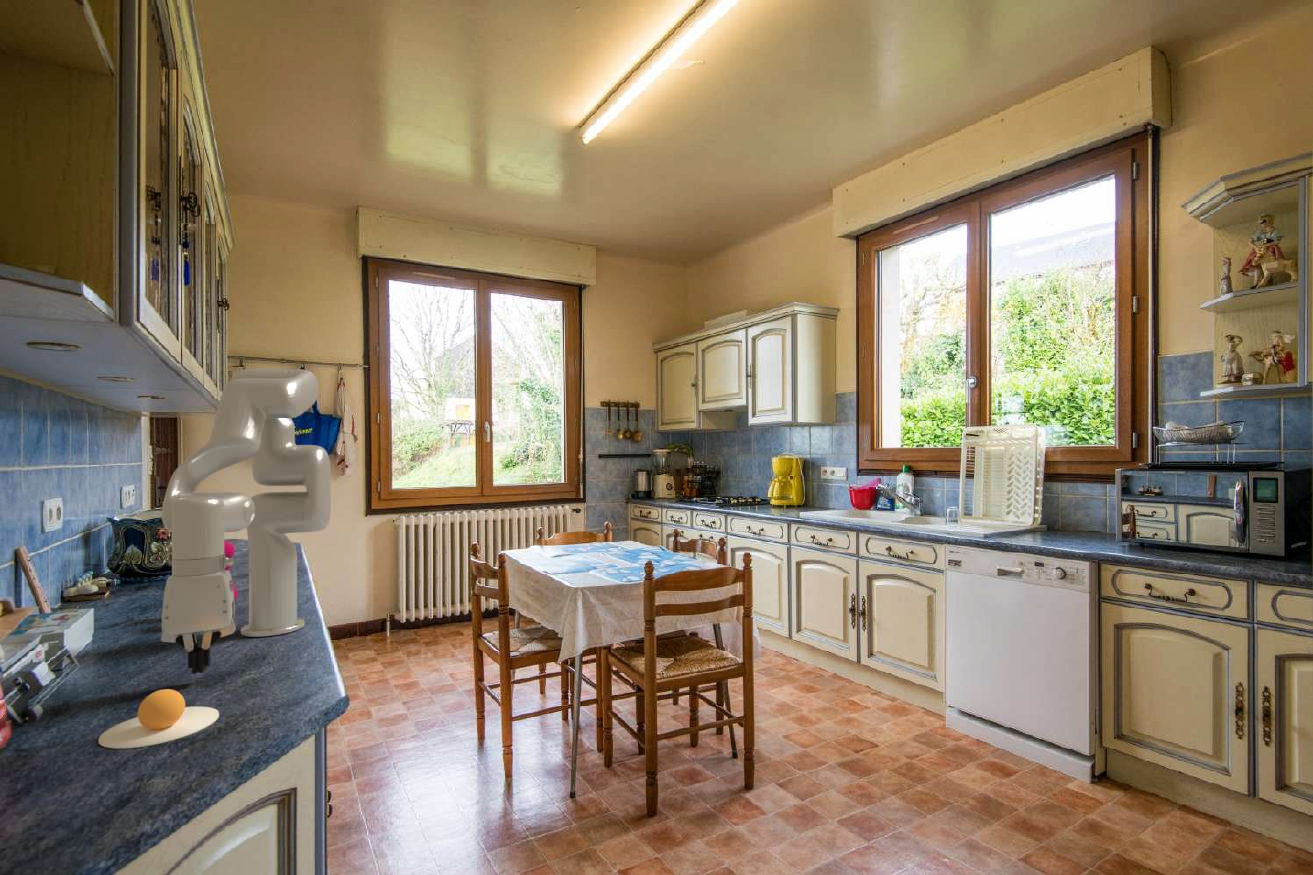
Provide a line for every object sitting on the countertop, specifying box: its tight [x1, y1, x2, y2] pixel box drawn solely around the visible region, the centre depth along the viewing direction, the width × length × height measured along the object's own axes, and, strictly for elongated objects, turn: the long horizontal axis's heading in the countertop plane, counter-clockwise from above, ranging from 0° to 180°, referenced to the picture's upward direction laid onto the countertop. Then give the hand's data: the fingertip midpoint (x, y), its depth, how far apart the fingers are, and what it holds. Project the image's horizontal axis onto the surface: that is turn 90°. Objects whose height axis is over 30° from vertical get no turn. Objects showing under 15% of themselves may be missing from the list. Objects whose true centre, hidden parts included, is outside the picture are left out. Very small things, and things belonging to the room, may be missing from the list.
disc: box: [98, 706, 220, 750], centre depth 94 cm, size 14×14×1 cm
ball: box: [137, 688, 186, 730], centre depth 93 cm, size 6×6×6 cm
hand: (199, 670), depth 112 cm, fingers closed
